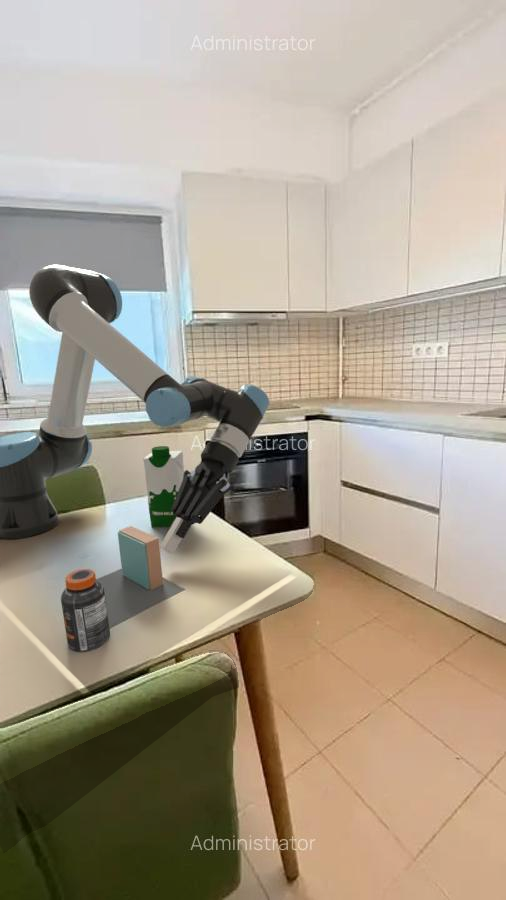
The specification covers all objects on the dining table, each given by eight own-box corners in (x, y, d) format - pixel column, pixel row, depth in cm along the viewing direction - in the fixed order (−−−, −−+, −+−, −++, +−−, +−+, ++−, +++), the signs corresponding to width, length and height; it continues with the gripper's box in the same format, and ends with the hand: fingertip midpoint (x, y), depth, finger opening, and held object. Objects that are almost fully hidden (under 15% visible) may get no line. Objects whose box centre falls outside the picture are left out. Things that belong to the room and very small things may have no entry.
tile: (122, 575, 85) (116, 531, 83) (135, 569, 87) (131, 526, 85) (149, 591, 79) (144, 543, 77) (163, 584, 81) (158, 538, 79)
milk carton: (146, 531, 107) (138, 450, 103) (158, 517, 116) (151, 442, 112) (182, 531, 106) (175, 449, 102) (191, 517, 115) (185, 441, 111)
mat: (62, 597, 79) (61, 593, 79) (135, 566, 90) (135, 562, 89) (108, 633, 68) (107, 629, 68) (185, 593, 79) (185, 589, 79)
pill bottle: (68, 637, 68) (57, 569, 65) (108, 627, 70) (100, 561, 68) (68, 662, 62) (57, 588, 60) (112, 649, 65) (103, 578, 62)
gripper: (193, 436, 96) (134, 533, 88) (236, 443, 87) (174, 551, 79) (213, 455, 101) (159, 549, 93) (255, 463, 92) (199, 567, 84)
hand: (166, 550), depth 86 cm, fingers closed
